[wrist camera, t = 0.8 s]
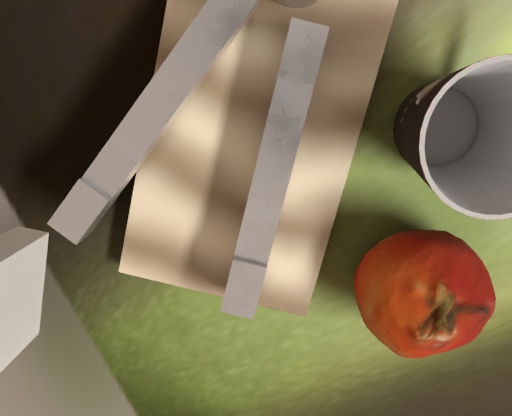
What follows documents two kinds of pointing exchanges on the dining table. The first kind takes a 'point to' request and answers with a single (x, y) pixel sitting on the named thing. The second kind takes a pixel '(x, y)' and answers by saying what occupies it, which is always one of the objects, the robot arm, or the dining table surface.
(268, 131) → the base
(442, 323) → the tomato
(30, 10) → the dining table surface
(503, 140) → the coffee mug
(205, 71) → the tong arm
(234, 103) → the board
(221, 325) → the dining table surface
